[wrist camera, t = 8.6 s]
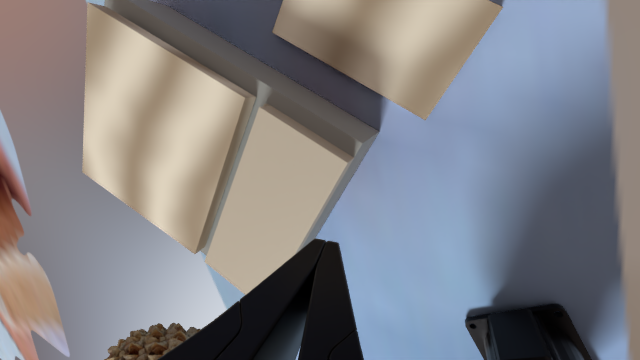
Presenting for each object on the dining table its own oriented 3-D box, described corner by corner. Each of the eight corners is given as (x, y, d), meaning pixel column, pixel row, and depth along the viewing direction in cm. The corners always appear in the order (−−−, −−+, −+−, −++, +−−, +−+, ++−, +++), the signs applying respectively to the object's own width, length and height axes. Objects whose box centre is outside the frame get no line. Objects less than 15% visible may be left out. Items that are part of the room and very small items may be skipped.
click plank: (256, 97, 17) (245, 98, 16) (205, 246, 23) (194, 254, 22) (106, 7, 19) (87, 2, 18) (97, 168, 25) (82, 172, 24)
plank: (498, 13, 16) (503, 7, 15) (426, 118, 19) (425, 120, 18) (317, -72, 18) (310, -82, 17) (280, 35, 21) (272, 32, 20)
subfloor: (379, 131, 20) (356, 147, 14) (296, 269, 27) (259, 316, 21) (168, 6, 24) (84, -21, 18) (144, 155, 31) (79, 169, 25)
